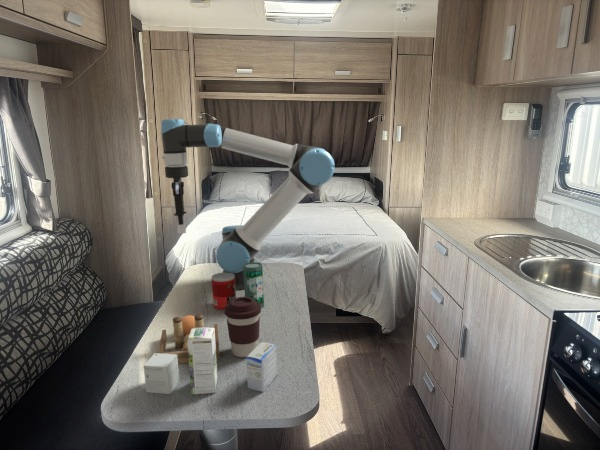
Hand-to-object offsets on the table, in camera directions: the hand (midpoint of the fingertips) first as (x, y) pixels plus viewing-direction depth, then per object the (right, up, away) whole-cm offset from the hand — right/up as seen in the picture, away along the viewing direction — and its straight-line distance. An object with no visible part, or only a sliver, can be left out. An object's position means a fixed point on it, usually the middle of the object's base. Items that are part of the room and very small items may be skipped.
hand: (181, 232), depth 159 cm
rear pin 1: (+7, -32, -30) cm, 44 cm away
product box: (+8, -37, -48) cm, 61 cm away
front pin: (+9, -30, -27) cm, 42 cm away
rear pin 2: (+13, -32, -29) cm, 45 cm away
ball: (+8, -27, -23) cm, 37 cm away
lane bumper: (+10, -32, -30) cm, 45 cm away
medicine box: (+32, -36, -47) cm, 68 cm away
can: (+26, -25, -3) cm, 36 cm away
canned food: (+16, -26, -2) cm, 30 cm away
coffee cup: (+26, -33, -33) cm, 53 cm away
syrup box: (+19, -37, -49) cm, 64 cm away
